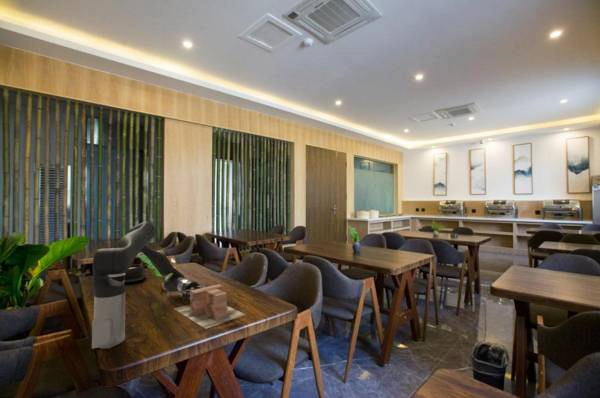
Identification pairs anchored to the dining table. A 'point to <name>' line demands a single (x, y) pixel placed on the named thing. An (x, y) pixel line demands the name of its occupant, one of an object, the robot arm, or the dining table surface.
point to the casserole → (134, 273)
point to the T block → (209, 301)
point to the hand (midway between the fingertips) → (204, 295)
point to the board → (207, 320)
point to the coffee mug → (118, 277)
